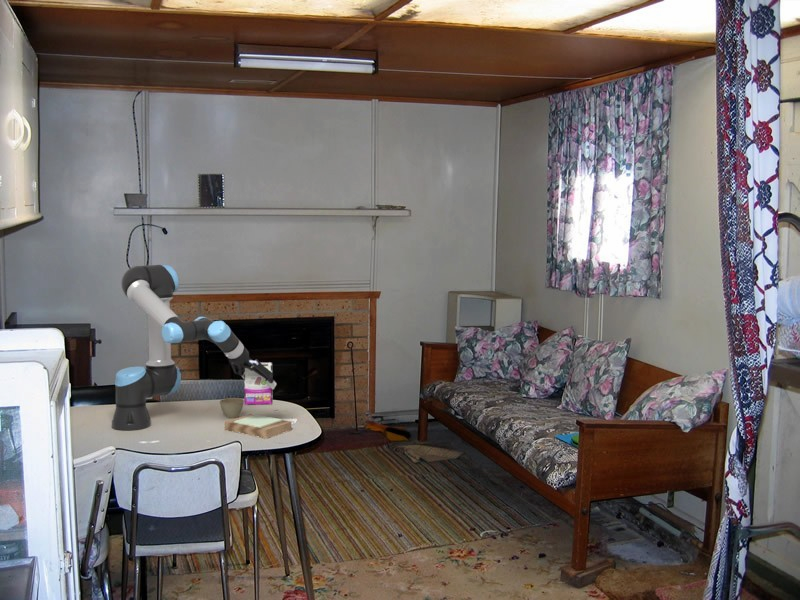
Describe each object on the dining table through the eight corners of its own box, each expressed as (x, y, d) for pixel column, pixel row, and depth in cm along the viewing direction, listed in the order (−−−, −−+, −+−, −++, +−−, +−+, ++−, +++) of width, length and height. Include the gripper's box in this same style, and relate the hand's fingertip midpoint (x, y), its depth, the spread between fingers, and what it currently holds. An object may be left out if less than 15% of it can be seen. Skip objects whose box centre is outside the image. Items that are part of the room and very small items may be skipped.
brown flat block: (224, 429, 340) (224, 421, 340) (250, 422, 353) (250, 413, 352) (266, 438, 329) (266, 429, 328) (291, 430, 341) (291, 421, 341)
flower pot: (218, 415, 364) (218, 398, 363) (242, 413, 367) (242, 397, 366) (221, 420, 355) (221, 403, 354) (245, 419, 358) (245, 402, 357)
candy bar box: (272, 402, 343) (272, 362, 341) (272, 405, 338) (272, 364, 336) (244, 402, 341) (244, 362, 339) (244, 405, 336) (243, 364, 334)
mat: (233, 422, 339) (233, 421, 339) (255, 415, 350) (255, 414, 349) (260, 427, 331) (260, 426, 331) (282, 420, 342) (282, 419, 342)
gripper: (208, 356, 330) (236, 388, 345) (254, 363, 318) (281, 396, 333) (218, 341, 334) (245, 373, 349) (263, 347, 322) (290, 380, 337)
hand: (262, 384), depth 341 cm, fingers closed on candy bar box, 11 cm apart
